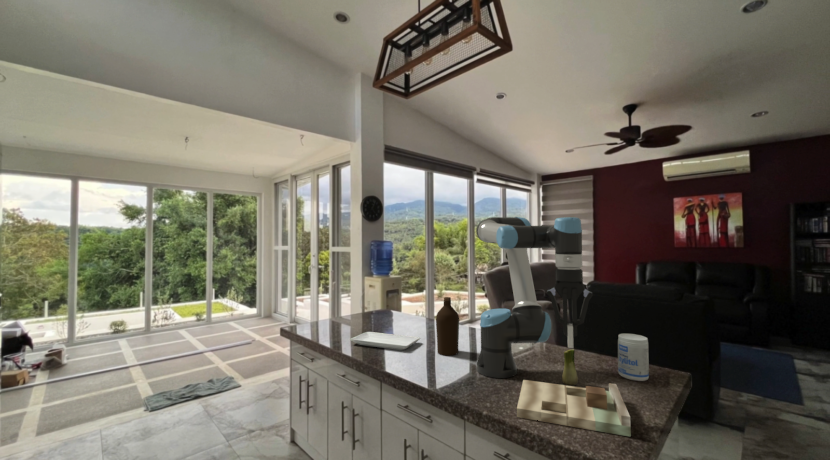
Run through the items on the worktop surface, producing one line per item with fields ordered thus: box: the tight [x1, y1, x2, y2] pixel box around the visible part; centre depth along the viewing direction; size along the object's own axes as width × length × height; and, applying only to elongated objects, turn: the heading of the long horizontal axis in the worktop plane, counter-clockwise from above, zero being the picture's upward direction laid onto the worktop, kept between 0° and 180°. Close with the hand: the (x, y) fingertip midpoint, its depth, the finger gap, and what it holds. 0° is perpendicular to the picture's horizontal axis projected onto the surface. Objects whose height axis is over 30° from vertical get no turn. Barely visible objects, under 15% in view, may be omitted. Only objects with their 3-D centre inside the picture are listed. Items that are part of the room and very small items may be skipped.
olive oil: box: [435, 296, 460, 357], centre depth 158 cm, size 11×11×25 cm
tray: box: [349, 331, 421, 351], centre depth 171 cm, size 17×31×4 cm, turn 66°
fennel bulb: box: [561, 348, 579, 387], centre depth 121 cm, size 6×5×12 cm
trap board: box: [516, 379, 632, 437], centre depth 104 cm, size 28×22×5 cm
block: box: [585, 385, 607, 410], centre depth 101 cm, size 5×5×4 cm
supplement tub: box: [617, 333, 650, 382], centre depth 128 cm, size 10×10×15 cm
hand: (570, 346), depth 104 cm, fingers closed
